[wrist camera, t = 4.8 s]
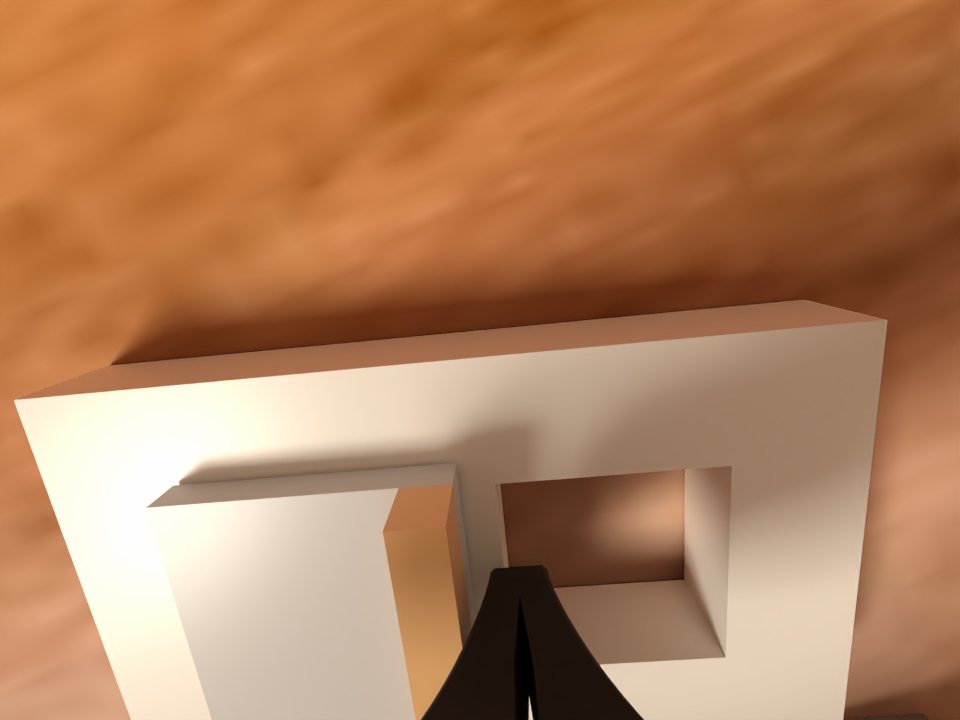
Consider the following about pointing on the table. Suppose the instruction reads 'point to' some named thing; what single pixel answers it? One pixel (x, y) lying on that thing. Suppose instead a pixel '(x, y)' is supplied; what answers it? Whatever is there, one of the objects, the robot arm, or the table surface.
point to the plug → (891, 717)
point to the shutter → (320, 590)
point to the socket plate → (519, 458)
